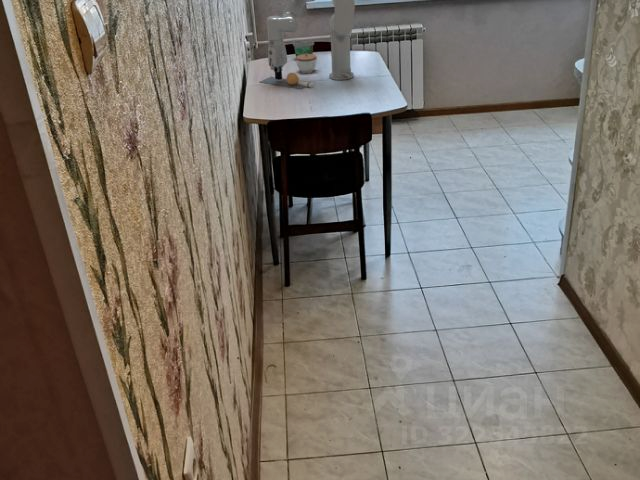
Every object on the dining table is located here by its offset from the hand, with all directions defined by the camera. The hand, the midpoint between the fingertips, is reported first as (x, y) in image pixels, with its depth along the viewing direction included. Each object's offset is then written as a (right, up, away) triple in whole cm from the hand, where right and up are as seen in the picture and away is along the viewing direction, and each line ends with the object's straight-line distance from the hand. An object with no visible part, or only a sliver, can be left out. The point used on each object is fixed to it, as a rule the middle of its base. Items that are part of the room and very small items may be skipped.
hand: (278, 78), depth 336 cm
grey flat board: (+3, -2, -1) cm, 4 cm away
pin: (+10, -4, -6) cm, 12 cm away
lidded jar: (+14, +8, +15) cm, 22 cm away
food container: (+11, +19, +35) cm, 41 cm away
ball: (+7, -2, -6) cm, 10 cm away
